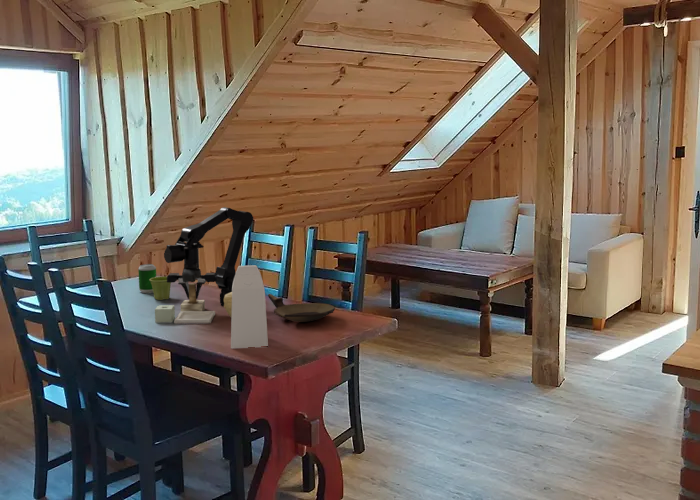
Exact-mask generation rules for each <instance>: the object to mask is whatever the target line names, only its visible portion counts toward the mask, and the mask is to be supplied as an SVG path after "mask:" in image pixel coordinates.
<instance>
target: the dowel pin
mask: <svg viewBox="0 0 700 500" xmlns="http://www.w3.org/2000/svg"><path fill="white" fill-rule="evenodd" d="M188 284H189V299H188V300H189V304H197V300H198V299H196V288H197V284H196V283H194V282H190V283H188Z"/></svg>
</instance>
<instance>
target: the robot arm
mask: <svg viewBox="0 0 700 500" xmlns="http://www.w3.org/2000/svg"><path fill="white" fill-rule="evenodd" d="M228 219H229V220H232V221H231V226H232V233H231V237H230V240H229V243H228V245H227V246H228V247H227V250H226V254H225V256H224V260H223V263H222V265H220V266H216V268H215V272H206V273H205V274H202V271H201V269H200V257H199V255H200V254H199V250H200V249H203V248H204V245H203V244H201V243H200V241H201V240H202V239H203V238H205V235H206V233H208V232H210V230H211V231H212V229H214V228H215V227H217V226H218V225H220V224H221V223H223V222H225V221H226V220H228ZM253 223H254V215H253V214H252V213H251V212H249V211H244V210H235V209H233V208H230V207H225V206H224V207H221V208H220V209H218V211H216V212H214V213H213V214H211V215H210V216H208V217H206V218H205V219H204V220H202V221H200V222H199V223H196V224H191V225H188V226H186V227H184V228H182V230H181V232H180V235H179V236H178V239H177V240H176V242H175V244H167V245H166V248H165V249H164V252H163V258H164V261H165V262H166V263H167V264H171V263H179V262H183V270H182V274H181V275H180V273H179V272H169V274H168V275H167V276H166V277H167V282H168V283H171V284H172V283H176V281H178V285H180V286H181V287H182V288H183V290H184V292H185V295H186V297H187V300H189V284H190V283H194V282H196V283H195V284H196V300H199V295H200V293H201V288H202V286H203V285H205V284H206V282H207V283H215V284H216V285H217V288H218V289H219V290H220V293H219V304H220V306H221V307H224V297H225V295H226V294H228V293H230V292H232V285H233V281H234V277H235V274H236V264H237V261H238V257H239V253H240V250H241V247H242V245H243V241H244V237H245V234H246V233H247V232H248V231H249V229H251V226H252V224H253Z"/></svg>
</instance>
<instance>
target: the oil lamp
mask: <svg viewBox="0 0 700 500" xmlns="http://www.w3.org/2000/svg"><path fill="white" fill-rule="evenodd" d="M267 297H268V299H269V300H270V301H271V303H272V304H273V305H274V307H275V308H274V310H273V313H274V314H275V315H276V316H278V317H280V318H283V319H284V320H289V321H292V322H296V323H306V322H307V323H308V322H313V321H317V320H319V319H322V318H324V317H326V316H329V315H330V314H333V313H334V311H335V310H336V307H335V306H334V305H331V304H328V303H323V302H321V303H319V302H317V303H316V302H313V303H312V302H310V303H292V304H285V303H284V299H283V297H276V296H274V295H273V294H272V293H268V294H267Z"/></svg>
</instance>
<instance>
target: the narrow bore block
mask: <svg viewBox="0 0 700 500" xmlns="http://www.w3.org/2000/svg"><path fill="white" fill-rule="evenodd" d="M175 309H176V308H175V305H174V304H171V305H170V304H169V305H161V304H160V305H157V306H156V308H154V318H155V320H154V321H155V323H172V322H173V321H174V320H175V319H176V315H175V314H176V311H175Z"/></svg>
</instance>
